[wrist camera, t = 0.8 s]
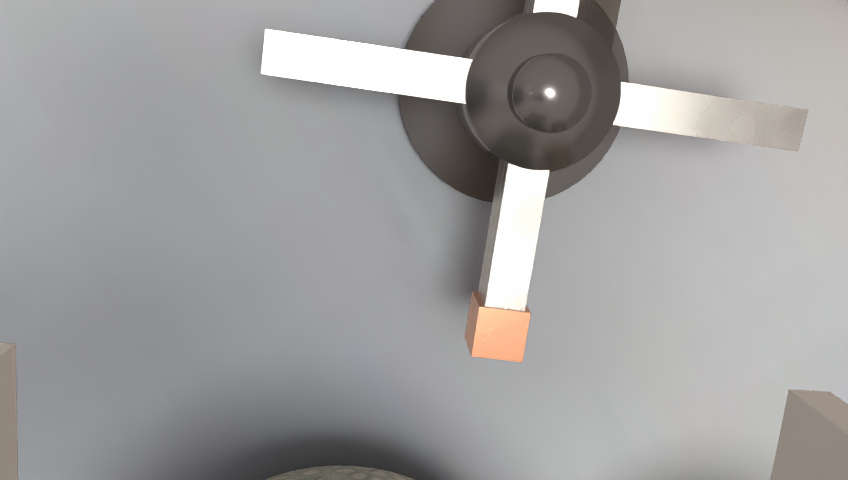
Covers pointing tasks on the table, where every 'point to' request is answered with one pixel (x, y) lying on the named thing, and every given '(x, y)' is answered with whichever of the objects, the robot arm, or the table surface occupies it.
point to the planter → (340, 474)
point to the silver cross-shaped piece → (528, 126)
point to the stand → (437, 119)
